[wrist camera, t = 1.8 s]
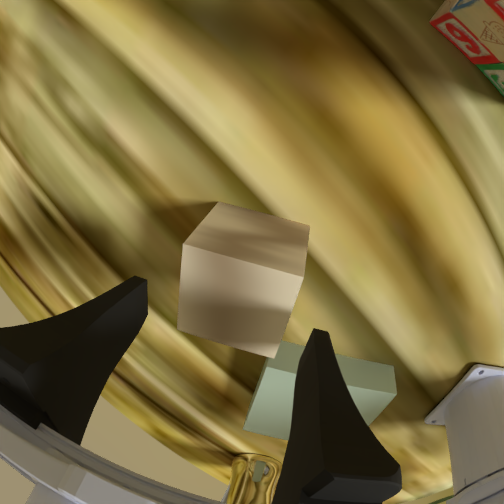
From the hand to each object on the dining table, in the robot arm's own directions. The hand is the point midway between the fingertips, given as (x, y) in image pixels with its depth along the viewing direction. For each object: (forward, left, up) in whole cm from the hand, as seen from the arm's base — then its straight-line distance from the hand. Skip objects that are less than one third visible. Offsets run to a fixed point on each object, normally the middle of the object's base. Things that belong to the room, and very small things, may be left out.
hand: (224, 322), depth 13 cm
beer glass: (-6, +28, -6) cm, 29 cm away
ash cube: (0, 0, -6) cm, 6 cm away
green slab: (-7, +11, -6) cm, 14 cm away
